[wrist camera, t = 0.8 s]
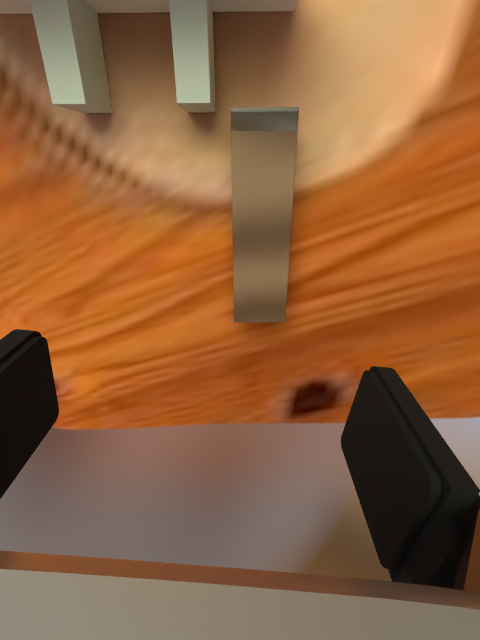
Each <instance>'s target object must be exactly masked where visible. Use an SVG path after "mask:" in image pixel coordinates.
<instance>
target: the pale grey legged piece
mask: <svg viewBox="0 0 480 640" xmlns="http://www.w3.org/2000/svg"><path fill="white" fill-rule="evenodd" d="M297 1H298V0H0V14H33V18H34V22H35V27H36V31H37V36H38V40H39V45H40V50H41V54H42V59H43V63H44V68H45V72H46V77H47V81H48V86H49V91H50V95H51V100H52V104H54V105H58V106H61V107H65V108H68V109H72V110H76V111H79V112H83V113H112V107H111V100H110V94H109V87H108V80H107V74H106V67H105V61H104V54H103V48H102V41H101V34H100V28H99V21H98V15H97V13H153V12H170V19H171V32H172V45H173V58H174V71H175V84H176V97H177V104H179V105H180V106H181V107H182V108H184V109H185V110H186V111H187V112H216V99H215V67H214V36H213V12H255V11H294V10H295V7H296V4H297Z"/></svg>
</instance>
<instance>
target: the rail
mask: <svg viewBox="0 0 480 640" xmlns="http://www.w3.org/2000/svg"><path fill="white" fill-rule="evenodd" d="M298 113H299V107H260V108H231V148H232V217H233V286H234V322H285V316H286V300H287V285H288V269H289V254H290V238H291V222H292V207H293V191H294V176H295V160H296V144H297V129H298Z"/></svg>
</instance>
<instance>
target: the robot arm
mask: <svg viewBox="0 0 480 640" xmlns="http://www.w3.org/2000/svg"><path fill="white" fill-rule="evenodd" d="M58 414H59V407H58V401H57V395H56V389H55V383H54V378H53V372H52V366H51V360H50V355H49V349H48V343H47V340H46V338H44V337H42V336H41V334H40V333H39V332H37V331H29V330H19V329H16V330H13V331H12V332H10V333H9V334H8V335H6V336H5V337H4V338H2V339H1V340H0V498H1V497H2V496H3V495H4V493H5V492H6V490H7V489H8V487H9V486H10V485H11V483H12V482H13V480H14V479H15V478H16V476H17V475H18V474H19V472H20V471H21V469H22V468H23V467H24V465H25V464H26V462H27V461H28V460H29V458H30V457H31V455H32V454H33V452H34V451H35V450H36V448H37V447H38V445H39V444H40V443H41V441H42V440H43V438H44V437H45V436H46V434H47V433H48V431H49V430H50V429H51V427H52V426H53V424H54V423H55V422H56V420H57V417H58ZM341 447H342V450H343V453H344V456H345V459H346V462H347V465H348V468H349V471H350V474H351V477H352V480H353V483H354V486H355V489H356V492H357V495H358V498H359V501H360V504H361V507H362V510H363V513H364V516H365V519H366V521H367V525H368V528H369V531H370V534H371V537H372V539H373V542H374V545H375V548H376V551H377V554H378V557H379V560H380V563H381V564H382V566H383V567H384V568H387V569H388V570H389V573H390V576H391V579H392V582H389V581H380V580H370V579H360V578H349V577H336V576H323V575H312V574H299V573H288V572H287V573H286V572H275V571H263V570H251V569H239V568H225V567H213V566H200V565H187V564H174V563H162V562H148V561H134V560H122V559H109V558H96V557H82V556H68V555H54V554H40V553H26V552H11V551H0V640H480V496H479V495H478V493H479V492H480V490H479V488H478V487H477V486H476V484H475V483H474V481H473V480H472V478H471V477H470V476H469V474H468V473H467V472H466V470H465V469H464V467H463V466H462V464H461V463H460V462H459V460H458V459H457V457H456V456H455V455H454V453H453V452H452V450H451V449H450V447H449V446H448V445H447V443H446V442H445V441H444V439H443V438H442V436H441V435H440V433H439V432H438V430H437V429H436V428H435V426H434V425H433V423H432V422H431V421H430V419H429V418H428V416H427V415H426V414H425V412H424V411H423V409H422V408H421V406H420V405H419V404H418V402H417V401H416V399H415V398H414V397H413V395H412V394H411V392H410V391H409V390H408V388H407V387H406V385H405V384H404V382H403V381H402V380H401V378H400V377H399V375H398V374H397V373H396V371H395V370H394V369H392V368H385V367H376V366H373V367H371V368H370V369H369V371H368V370H366V371H365V372H364V373H363V375H362V378H361V381H360V384H359V387H358V390H357V393H356V395H355V398H354V401H353V404H352V407H351V410H350V413H349V416H348V419H347V421H346V424H345V427H344V430H343V433H342V436H341Z"/></svg>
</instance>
